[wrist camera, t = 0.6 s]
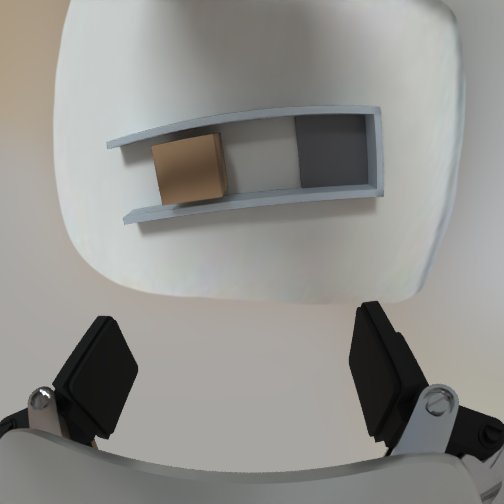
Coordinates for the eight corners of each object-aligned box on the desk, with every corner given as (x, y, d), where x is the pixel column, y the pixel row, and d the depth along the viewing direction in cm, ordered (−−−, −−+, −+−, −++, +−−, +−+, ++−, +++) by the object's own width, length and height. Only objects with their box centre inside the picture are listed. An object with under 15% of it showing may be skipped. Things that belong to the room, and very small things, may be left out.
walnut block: (167, 142, 28) (151, 146, 23) (220, 133, 27) (212, 133, 23) (176, 193, 30) (162, 205, 26) (228, 186, 30) (222, 197, 25)
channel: (118, 140, 27) (106, 142, 24) (369, 108, 25) (380, 106, 22) (134, 216, 31) (124, 224, 28) (373, 190, 29) (383, 196, 26)
